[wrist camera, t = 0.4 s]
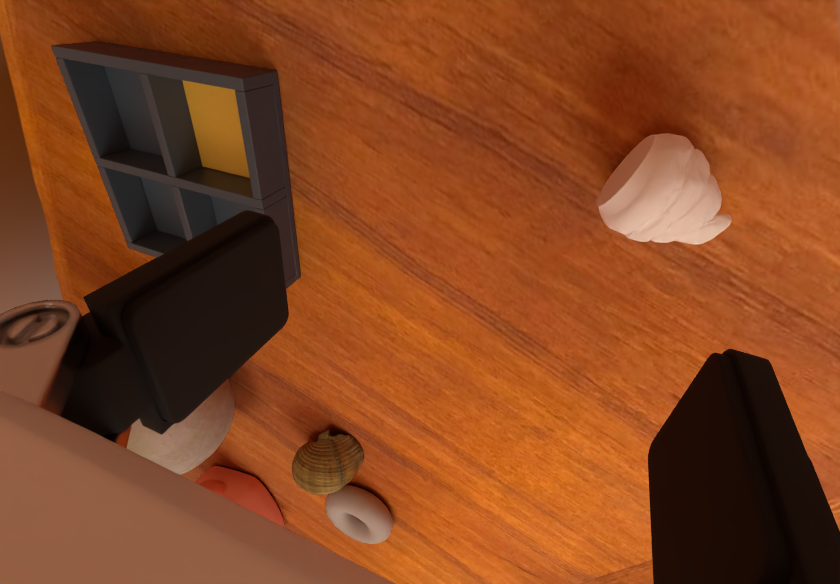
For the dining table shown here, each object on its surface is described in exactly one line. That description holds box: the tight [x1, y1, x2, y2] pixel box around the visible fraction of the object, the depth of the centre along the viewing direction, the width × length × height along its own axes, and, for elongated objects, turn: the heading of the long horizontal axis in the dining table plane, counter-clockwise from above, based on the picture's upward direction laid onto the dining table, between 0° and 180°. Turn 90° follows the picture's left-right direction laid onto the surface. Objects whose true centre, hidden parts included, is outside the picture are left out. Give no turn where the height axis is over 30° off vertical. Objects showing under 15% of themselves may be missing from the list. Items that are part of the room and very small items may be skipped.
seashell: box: [292, 430, 363, 495], centre depth 53 cm, size 10×7×8 cm
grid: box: [51, 41, 301, 289], centre depth 36 cm, size 17×17×4 cm
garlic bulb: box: [596, 133, 732, 245], centre depth 23 cm, size 6×6×6 cm
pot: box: [195, 466, 283, 526], centre depth 69 cm, size 18×17×12 cm
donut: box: [325, 485, 393, 544], centre depth 59 cm, size 10×4×10 cm
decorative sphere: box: [126, 378, 235, 475], centre depth 50 cm, size 15×15×15 cm
